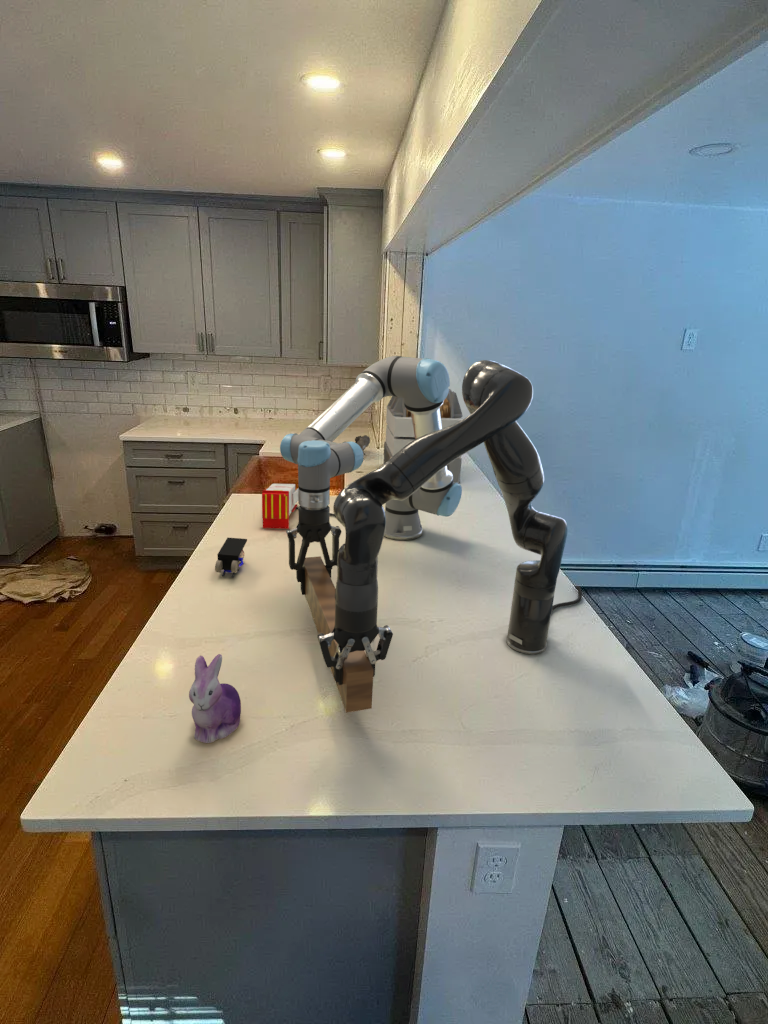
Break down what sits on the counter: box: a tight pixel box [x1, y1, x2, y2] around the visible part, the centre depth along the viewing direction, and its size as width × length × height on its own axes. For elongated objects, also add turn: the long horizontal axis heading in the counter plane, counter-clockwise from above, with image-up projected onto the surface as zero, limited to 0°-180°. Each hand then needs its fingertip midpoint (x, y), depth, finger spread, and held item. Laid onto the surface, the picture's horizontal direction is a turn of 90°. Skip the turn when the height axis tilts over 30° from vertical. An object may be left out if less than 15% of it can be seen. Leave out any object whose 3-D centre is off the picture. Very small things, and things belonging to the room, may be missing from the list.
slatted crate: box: [382, 388, 464, 484], centre depth 268 cm, size 34×33×41 cm
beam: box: [303, 556, 374, 714], centre depth 125 cm, size 50×5×8 cm, turn 17°
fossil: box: [354, 434, 371, 456], centre depth 302 cm, size 22×10×15 cm
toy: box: [261, 483, 298, 530], centre depth 210 cm, size 12×13×30 cm
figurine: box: [188, 653, 242, 744], centre depth 103 cm, size 9×10×15 cm
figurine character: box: [214, 537, 248, 578], centre depth 166 cm, size 7×8×15 cm
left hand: (313, 591), depth 145 cm, fingers closed on beam, 5 cm apart
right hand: (354, 679), depth 106 cm, fingers closed on beam, 5 cm apart
